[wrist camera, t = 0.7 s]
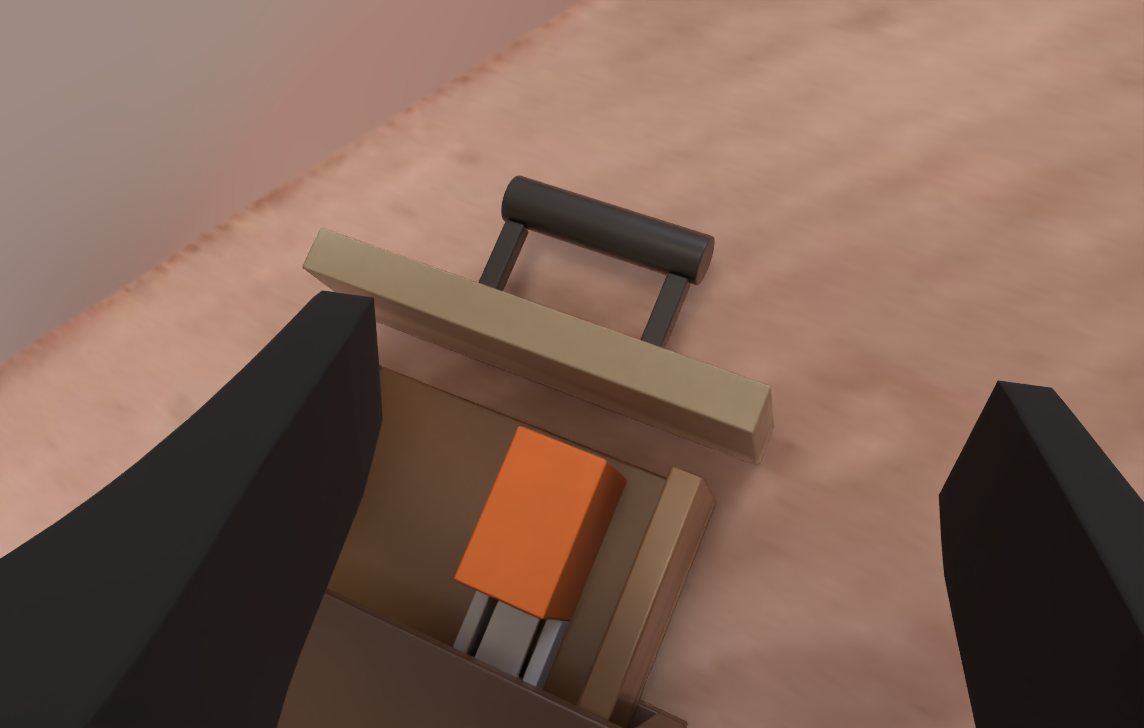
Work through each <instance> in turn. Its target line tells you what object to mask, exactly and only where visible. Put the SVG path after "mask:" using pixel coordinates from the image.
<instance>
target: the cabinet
mask: <svg viewBox="0 0 1144 728" xmlns="http://www.w3.org/2000/svg"><path fill="white" fill-rule="evenodd" d="M686 727H687V722H686V721H684V720H682V719H680V718H678V717H676V716H673V715H671V714H669V713H667V712H665V711H663V710H660V709H658V708H656V707H654V706H652V705H650V704H647V703H645V702H643V701H641V700H639V701H638V704H637V706H636V709H635V711H634V714H633V717H632V719H631V722H630V724H629V727H628V728H686ZM277 728H623V727H621V726H618V725H616V724H614V723H612V722H610V721H608V720H606V719H604V718H601V717H599V716H597V715H595V714H593V713H591V712H589V711H587V710H584V709H582V708H580V707H578V706H576V705H574V704H572V703H570V702H568V701H565V700H563V699H561V698H559V697H557V696H555V695H553V694H551V693H548V692H546V691H544V690H542V689H540V688H538V687H536V686H534V685H531V684H529V683H527V682H525V681H523V680H521V679H519V678H517V677H515V676H512V675H510V674H508V673H506V672H504V671H502V670H500V669H498V668H495V667H493V666H491V665H489V664H487V663H485V662H483V661H481V660H478V659H476V658H474V657H472V656H470V655H468V654H466V653H464V652H462V651H459V650H457V649H455V648H453V647H451V646H449V645H447V644H445V643H442V642H440V641H438V640H436V639H434V638H432V637H430V636H428V635H425V634H423V633H421V632H419V631H417V630H415V629H413V628H411V627H409V626H406V625H404V624H402V623H400V622H398V621H396V620H394V619H392V618H389V617H387V616H385V615H383V614H381V613H379V612H377V611H375V610H373V609H370V608H368V607H366V606H364V605H362V604H360V603H358V602H356V601H353V600H351V599H349V598H347V597H345V596H343V595H341V594H339V593H336V592H334V591H332V590H330V589H328V588H327V589H326V591H325V594H324V596H323V599H322V601H321V604H320V606H319V609H318V611H317V614H316V616H315V619H314V621H313V624H312V626H311V629H310V631H309V634H308V636H307V639H306V641H305V644H304V646H303V649H302V651H301V654H300V656H299V659H298V662H297V665H296V668H295V671H294V674H293V676H292V679H291V682H290V685H289V688H288V691H287V694H286V698H285V701H284V705H283V708H282V712H281V715H280V719H279V722H278V726H277Z"/></svg>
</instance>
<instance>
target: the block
mask: <svg viewBox="0 0 1144 728" xmlns="http://www.w3.org/2000/svg"><path fill="white" fill-rule="evenodd" d="M625 484H626V478H625V477H624V476H623V475H622V474H621V473H620V472H619V471H617V470H616V469H615V468H614V467H613V466H612V465H611V464H610V463H609V462H608V461H607V460H606V459H603V458H601V457H598V456H596V455H593V454H591V453H588V452H586V451H583V450H581V449H578V448H575V447H573V446H570V445H568V444H565V443H563V442H560V441H558V440H555V439H553V438H550V437H547V436H545V435H542V434H540V433H537V432H535V431H532V430H530V429H527V428H525V427H522V426H519V427H518V428H517V430H516V433H515V435H514V438H513V440H512V442H511V445H510V447H509V449H508V452H507V454H506V456H505V459H504V461H503V463H502V466H501V468H500V470H499V473H498V475H497V477H496V480H495V482H494V485H493V487H492V489H491V492H490V494H489V496H488V499H487V501H486V503H485V506H484V508H483V510H482V513H481V515H480V517H479V520H478V522H477V524H476V527H475V529H474V532H473V534H472V536H471V539H470V541H469V543H468V546H467V548H466V550H465V553H464V555H463V557H462V560H461V562H460V564H459V567H458V569H457V571H456V574H455V576H454V580H455V581H457V582H459V583H461V584H463V585H466V586H468V587H470V588H472V589H474V590H476V593H475V595H474V598H473V600H472V602H471V605H470V607H469V609H468V612H467V614H466V617H465V619H464V621H463V624H462V626H461V628H460V631H459V633H458V636H457V638H456V640H455V643H454V645H453V648H455V649H457V650H459V651H462V652H464V653H466V654H468V655H470V656H472V657H474V658H476V659H478V660H481V661H483V662H485V663H487V664H489V665H491V666H493V667H495V668H498V669H500V670H502V671H504V672H506V673H508V674H510V675H512V676H515V677H517V678H519V679H521V680H523V681H525V682H527V683H529V684H531V685H534V686H536V687H538V688H540V689H542V690H543V687H544V685H545V682H546V680H547V677H548V675H549V672H550V670H551V667H552V665H553V663H554V660H555V658H556V655H557V653H558V650H559V648H560V645H561V643H562V640H563V638H564V635H565V633H566V630H567V628H568V625H569V621H568V620H570V619H571V617H572V615H573V612H574V610H575V607H576V605H577V603H578V600H579V598H580V595H581V593H582V590H583V588H584V585H585V583H586V580H587V578H588V575H589V573H590V570H591V568H592V565H593V563H594V560H595V558H596V555H597V553H598V550H599V548H600V546H601V543H602V541H603V538H604V536H605V533H606V531H607V528H608V526H609V523H610V521H611V518H612V516H613V513H614V511H615V508H616V506H617V503H618V501H619V498H620V496H621V494H622V491H623V489H624V486H625ZM498 600H499V601H498ZM541 619H547V620H546V622H545V625H544V627H543V630H542V632H541V635H540V637H539V639H538V642H537V644H536V647H535V649H534V652H533V654H532V657H531V659H530V662H529V664H528V666H527V669H526V671H525V674H524V676H523V678H522V677H519V673H520V671H521V668H522V666H523V663H524V661H525V659H526V656H527V654H528V651H529V649H530V646H531V644H532V641H533V639H534V636H535V634H536V632H537V629H538V627H539V624H540V622H541Z"/></svg>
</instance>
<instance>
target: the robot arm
mask: <svg viewBox="0 0 1144 728" xmlns="http://www.w3.org/2000/svg"><path fill="white" fill-rule="evenodd" d="M382 421H383V414H382V400H381V387H380V373H379V359H378V346H377V332H376V318H375V305H374V297H367V296H359V295H352V294H344V293H337V292H329V291H321V292H320V293H318V294H317V295H316V296H314V297H313V298H312V299H311V300H310V301H309V302H308V303H307V304H306V305H305V306H304V307H303V309H302V310H301V311H300V312H299V313H298V314H297V315H296V316H295V317H294V318H293V319H292V320H291V321H290V322H289V323H288V324H287V325H286V326H285V327H284V328H283V329H282V330H281V331H280V332H279V333H278V334H277V335H276V336H275V337H274V338H273V339H272V340H271V341H270V342H269V343H268V344H267V345H266V346H265V347H264V348H263V349H262V350H261V351H260V352H259V353H258V354H257V355H256V356H255V357H254V358H253V359H252V360H251V361H250V362H249V363H248V364H247V365H246V366H245V367H244V368H243V369H242V370H241V371H240V372H239V373H238V374H236V375H235V376H234V377H233V378H232V379H231V380H230V381H229V382H228V383H227V384H226V385H225V386H224V387H223V388H222V389H220V390H219V391H218V392H217V393H216V394H215V395H214V396H213V397H212V398H211V399H210V400H209V401H208V402H207V403H205V404H204V405H203V406H202V407H201V408H200V409H199V410H198V411H197V412H196V413H194V414H193V415H192V416H191V417H190V418H189V419H188V420H186V421H185V422H184V423H183V424H182V425H181V426H179V427H178V428H177V429H176V430H175V431H173V432H172V433H171V434H170V435H169V436H167V437H166V438H165V439H164V440H163V441H162V442H160V443H159V444H158V445H157V446H156V447H154V448H153V449H152V450H151V451H150V452H148V453H147V454H146V455H145V456H144V457H143V458H141V459H140V460H139V461H138V462H136V463H135V464H134V465H133V466H131V467H130V468H129V469H128V470H126V471H125V472H124V473H123V474H121V475H120V476H119V477H117V478H116V479H115V480H113V481H112V482H111V483H110V484H108V485H107V486H106V487H104V488H103V489H102V490H100V491H99V492H98V493H96V494H95V495H94V496H92V497H91V498H89V499H88V500H87V501H85V502H84V503H82V504H81V505H80V506H78V507H77V508H75V509H74V510H73V511H71V512H70V513H68V514H67V515H66V516H64V517H63V518H61V519H60V520H59V521H57V522H56V523H54V524H53V525H51V526H50V527H48V528H47V529H45V530H44V531H42V532H41V533H39V534H38V535H36V536H34V537H33V538H31V539H30V540H28V541H27V542H25V543H24V544H22V545H21V546H19V547H18V548H16V549H15V550H13V551H12V552H10V553H8V554H7V555H5V556H4V557H2V558H1V559H0V728H277V726H278V722H279V719H280V715H281V712H282V708H283V705H284V701H285V698H286V694H287V691H288V688H289V685H290V682H291V679H292V676H293V674H294V671H295V668H296V665H297V662H298V659H299V656H300V654H301V651H302V649H303V646H304V644H305V641H306V639H307V636H308V634H309V631H310V629H311V626H312V624H313V621H314V619H315V616H316V614H317V611H318V609H319V606H320V604H321V601H322V599H323V596H324V594H325V591H326V589H327V586H328V584H329V581H330V579H331V576H332V574H333V571H334V569H335V566H336V564H337V561H338V559H339V556H340V553H341V551H342V548H343V546H344V543H345V541H346V538H347V536H348V533H349V531H350V528H351V525H352V523H353V520H354V518H355V515H356V513H357V510H358V507H359V505H360V502H361V500H362V497H363V494H364V491H365V487H366V483H367V480H368V476H369V472H370V468H371V465H372V461H373V457H374V453H375V449H376V445H377V441H378V437H379V433H380V429H381V425H382ZM939 507H940V526H941V543H942V555H943V567H944V577H945V582H946V587H947V592H948V597H949V602H950V607H951V612H952V617H953V622H954V627H955V632H956V637H957V641H958V646H959V651H960V655H961V660H962V665H963V670H964V674H965V679H966V684H967V688H968V693H969V698H970V702H971V707H972V712H973V717H974V721H975V726H976V728H1144V502H1143V500H1142V499H1141V498H1140V497H1139V496H1138V494H1137V493H1136V492H1135V491H1134V489H1133V488H1132V487H1131V486H1130V484H1129V483H1128V482H1127V481H1126V479H1125V478H1124V477H1123V476H1122V474H1121V473H1120V472H1119V471H1118V469H1117V468H1116V467H1115V466H1114V464H1113V463H1112V462H1111V461H1110V459H1109V458H1108V457H1107V456H1106V454H1105V453H1104V452H1103V450H1102V449H1101V448H1100V447H1099V445H1098V444H1097V443H1096V442H1095V440H1094V439H1093V438H1092V437H1091V435H1090V434H1089V433H1088V431H1087V430H1086V429H1085V428H1084V426H1083V425H1082V424H1081V423H1080V421H1079V420H1078V419H1077V418H1076V416H1075V415H1074V414H1073V413H1072V411H1071V410H1070V409H1069V408H1068V406H1067V405H1066V404H1065V403H1064V402H1063V400H1062V399H1061V398H1060V397H1059V396H1058V394H1057V393H1056V392H1055V391H1054V390H1053V389H1052V388H1050V387H1042V386H1035V385H1027V384H1020V383H1012V382H1005V381H997V383H996V385H995V387H994V389H993V391H992V393H991V395H990V397H989V399H988V401H987V403H986V405H985V407H984V409H983V411H982V413H981V414H980V416H979V418H978V420H977V422H976V424H975V426H974V428H973V430H972V432H971V434H970V436H969V438H968V440H967V442H966V444H965V446H964V447H963V449H962V451H961V453H960V455H959V457H958V459H957V461H956V463H955V465H954V467H953V469H952V471H951V473H950V475H949V477H948V479H947V480H946V482H945V484H944V486H943V488H942V490H941V492H940V494H939Z"/></svg>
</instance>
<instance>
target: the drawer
mask: <svg viewBox="0 0 1144 728" xmlns="http://www.w3.org/2000/svg"><path fill="white" fill-rule="evenodd" d="M501 213H502V218H503V220H504V221H505V224H504V226H503V228H502V231H501V233H500V235H499V238H498V240H497V242H496V244H495V247H494V249H493V251H492V253H491V256H490V258H489V260H488V262H487V265H486V267H485V269H484V271H483V274H482V276H481V278H480V280H479V283H477V282H474V281H472V280H469V279H466V278H463V277H460V276H457V275H455V274H452V273H449V272H446V271H443V270H440V269H438V268H435V267H432V266H429V265H426V264H423V263H421V262H418V261H415V260H412V259H409V258H406V257H404V256H401V255H398V254H395V253H392V252H390V251H387V250H384V249H381V248H378V247H375V246H373V245H370V244H367V243H364V242H361V241H358V240H356V239H353V238H350V237H347V236H344V235H341V234H339V233H336V232H333V231H330V230H327V229H324V228H321V229H320V230H319V232H318V234H317V237H316V239H315V241H314V243H313V245H312V247H311V249H310V251H309V253H308V256H307V258H306V260H305V262H304V264H303V268H304V269H305V270H306V271H307V272H309V273H310V274H311V275H313V276H314V277H315V278H317V279H318V280H320V281H321V282H322V283H324V284H325V285H326V286H328V287H329V288H330V289H332V290H333V291H334V292H337V293H344V294H352V295H359V296H367V297H374V305H375V318H376V322H379V323H381V324H384V325H387V326H389V327H392V328H395V329H397V330H400V331H403V332H405V333H408V334H410V335H413V336H416V337H418V338H421V339H424V340H426V341H429V342H432V343H434V344H437V345H440V346H442V347H445V348H448V349H450V350H453V351H455V352H458V353H461V354H463V355H466V356H469V357H471V358H474V359H477V360H479V361H482V362H485V363H487V364H490V365H493V366H495V367H498V368H501V369H503V370H506V371H508V372H511V373H514V374H516V375H519V376H522V377H524V378H527V379H530V380H532V381H535V382H538V383H540V384H543V385H546V386H548V387H551V388H553V389H556V390H559V391H561V392H564V393H567V394H569V395H572V396H575V397H577V398H580V399H583V400H585V401H588V402H591V403H593V404H596V405H599V406H601V407H604V408H606V409H609V410H612V411H614V412H617V413H620V414H622V415H625V416H628V417H630V418H633V419H636V420H638V421H641V422H644V423H646V424H649V425H651V426H654V427H657V428H659V429H662V430H665V431H667V432H670V433H673V434H675V435H678V436H681V437H683V438H686V439H689V440H691V441H694V442H697V443H699V444H702V445H704V446H707V447H710V448H712V449H715V450H718V451H720V452H723V453H726V454H728V455H731V456H734V457H736V458H739V459H742V460H744V461H747V462H750V463H752V464H755V465H759V464H760V462H761V459H762V457H763V454H764V452H765V449H766V446H767V444H768V441H769V438H770V436H771V433H772V431H773V428H774V425H773V411H772V398H771V387H770V386H769V385H766V384H763V383H760V382H758V381H755V380H752V379H749V378H746V377H743V376H741V375H738V374H735V373H732V372H729V371H726V370H724V369H721V368H718V367H715V366H712V365H709V364H707V363H704V362H701V361H698V360H695V359H692V358H690V357H687V356H684V355H681V354H678V353H675V352H673V351H670V350H667V349H665V346H666V344H667V341H668V339H669V337H670V334H671V332H672V329H673V327H674V324H675V322H676V319H677V317H678V314H679V312H680V309H681V307H682V305H683V302H684V300H685V297H686V295H687V292H688V290H689V287H690V284H689V283H691V284H695V285H698V284H700V282H701V281H702V280H703V278H704V276H705V274H706V272H707V269H708V267H709V264H710V261H711V258H712V254H713V250H714V237H713V236H710V235H707V234H704V233H701V232H698V231H694V230H691V229H688V228H685V227H682V226H679V225H675V224H672V223H669V222H666V221H663V220H660V219H656V218H653V217H650V216H647V215H644V214H641V213H637V212H634V211H631V210H628V209H625V208H621V207H618V206H615V205H612V204H609V203H606V202H602V201H599V200H596V199H593V198H590V197H587V196H583V195H580V194H577V193H574V192H571V191H568V190H564V189H561V188H558V187H555V186H552V185H549V184H545V183H542V182H539V181H536V180H533V179H529V178H526V177H523V176H516V177H514V178H513V179H512V180H511V182H510V183H509V185H508V187H507V189H506V191H505V194H504V197H503V201H502V209H501ZM527 229H528V230H531V231H534V232H538V233H541V234H544V235H547V236H550V237H553V238H556V239H559V240H562V241H565V242H568V243H571V244H574V245H577V246H580V247H583V248H586V249H589V250H592V251H595V252H598V253H601V254H604V255H607V256H610V257H613V258H616V259H619V260H622V261H625V262H628V263H631V264H634V265H637V266H640V267H643V268H646V269H649V270H652V271H655V272H658V273H661V274H664V275H667V277H666V279H665V282H664V284H663V286H662V289H661V291H660V294H659V296H658V299H657V301H656V303H655V306H654V308H653V311H652V313H651V316H650V318H649V320H648V323H647V325H646V328H645V330H644V333H643V335H642V337H641V340H639V339H636V338H633V337H630V336H627V335H624V334H622V333H619V332H616V331H613V330H610V329H608V328H605V327H602V326H599V325H596V324H593V323H591V322H588V321H585V320H582V319H579V318H576V317H574V316H571V315H568V314H565V313H562V312H559V311H557V310H554V309H551V308H548V307H545V306H542V305H540V304H537V303H534V302H531V301H528V300H525V299H523V298H520V297H517V296H514V295H511V294H508V293H506V292H503V290H504V287H505V285H506V283H507V280H508V278H509V276H510V274H511V271H512V269H513V267H514V264H515V262H516V260H517V258H518V255H519V253H520V251H521V248H522V246H523V244H524V242H525V239H526V237H527V235H528V230H527ZM379 373H380V387H381V400H382V414H383V421H382V425H381V429H380V433H379V437H378V441H377V445H376V449H375V453H374V457H373V461H372V465H371V468H370V472H369V476H368V480H367V483H366V487H365V491H364V494H363V497H362V500H361V502H360V505H359V507H358V510H357V513H356V515H355V518H354V520H353V523H352V525H351V528H350V531H349V533H348V536H347V538H346V541H345V543H344V546H343V548H342V551H341V553H340V556H339V559H338V561H337V564H336V566H335V569H334V571H333V574H332V576H331V579H330V581H329V584H328V586H327V588H328V589H330V590H332V591H334V592H336V593H339V594H341V595H343V596H345V597H347V598H349V599H351V600H353V601H356V602H358V603H360V604H362V605H364V606H366V607H368V608H370V609H373V610H375V611H377V612H379V613H381V614H383V615H385V616H387V617H389V618H392V619H394V620H396V621H398V622H400V623H402V624H404V625H406V626H409V627H411V628H413V629H415V630H417V631H419V632H421V633H423V634H425V635H428V636H430V637H432V638H434V639H436V640H438V641H440V642H442V643H445V644H447V645H449V646H451V647H453V645H454V643H455V640H456V638H457V636H458V633H459V631H460V628H461V626H462V624H463V621H464V619H465V617H466V614H467V612H468V609H469V607H470V605H471V602H472V600H473V598H474V595H475V593H476V590H474V589H472V588H470V587H468V586H466V585H463V584H461V583H459V582H457V581H455V580H454V576H455V574H456V571H457V569H458V567H459V564H460V562H461V560H462V557H463V555H464V553H465V550H466V548H467V546H468V543H469V541H470V539H471V536H472V534H473V532H474V529H475V527H476V524H477V522H478V520H479V517H480V515H481V513H482V510H483V508H484V506H485V503H486V501H487V499H488V496H489V494H490V492H491V489H492V487H493V485H494V482H495V480H496V477H497V475H498V473H499V470H500V468H501V466H502V463H503V461H504V459H505V456H506V454H507V452H508V449H509V447H510V445H511V442H512V440H513V438H514V435H515V433H516V430H517V428H518V427H519V426H522V427H525V428H527V429H530V430H532V431H535V432H537V433H540V434H542V435H545V436H547V437H550V438H553V439H555V440H558V441H560V442H563V443H565V444H568V445H570V446H573V447H575V448H578V449H581V450H583V451H586V452H588V453H591V454H593V455H596V456H598V457H601V458H603V459H606V460H607V461H608V462H609V463H610V464H611V465H612V466H613V467H614V468H615V469H616V470H617V471H619V472H620V473H621V474H622V475H623V476H624V477H625V478H626V484H625V486H624V489H623V491H622V494H621V496H620V498H619V501H618V503H617V506H616V508H615V511H614V513H613V516H612V518H611V521H610V523H609V526H608V528H607V531H606V533H605V536H604V538H603V541H602V543H601V546H600V548H599V550H598V553H597V555H596V558H595V560H594V563H593V565H592V568H591V570H590V573H589V575H588V578H587V580H586V583H585V585H584V588H583V590H582V593H581V595H580V598H579V600H578V603H577V605H576V607H575V610H574V612H573V615H572V617H571V619H570V620H568V621H569V625H568V628H567V630H566V633H565V635H564V638H563V640H562V643H561V645H560V648H559V650H558V653H557V655H556V658H555V660H554V663H553V665H552V667H551V670H550V672H549V675H548V677H547V680H546V682H545V685H544V687H543V690H544V691H546V692H548V693H551V694H553V695H555V696H557V697H559V698H561V699H563V700H565V701H568V702H570V703H572V704H574V705H576V706H578V707H580V708H582V709H584V710H587V711H589V712H591V713H593V714H595V715H597V716H599V717H601V718H604V719H606V720H608V721H610V722H612V723H614V724H616V725H618V726H621V727H623V728H628V727H629V724H630V722H631V719H632V717H633V714H634V711H635V709H636V706H637V704H638V701H639V698H640V696H641V693H642V691H643V688H644V686H645V683H646V680H647V678H648V675H649V673H650V670H651V668H652V665H653V662H654V660H655V657H656V655H657V652H658V649H659V647H660V644H661V642H662V639H663V637H664V634H665V631H666V629H667V626H668V624H669V621H670V618H671V616H672V613H673V611H674V608H675V606H676V603H677V600H678V598H679V595H680V593H681V590H682V588H683V585H684V582H685V580H686V577H687V575H688V572H689V569H690V567H691V564H692V562H693V559H694V557H695V554H696V551H697V549H698V546H699V544H700V541H701V539H702V536H703V533H704V531H705V528H706V526H707V523H708V520H709V518H710V515H711V513H712V510H713V508H714V505H715V499H714V497H713V495H712V494H711V492H710V490H709V488H708V487H707V485H706V483H705V481H704V480H703V478H702V477H700V476H698V475H695V474H692V473H690V472H687V471H685V470H682V469H680V468H677V467H672V468H671V469H670V471H669V474H668V477H667V478H665V477H663V476H660V475H658V474H655V473H652V472H650V471H647V470H645V469H642V468H640V467H637V466H635V465H632V464H629V463H627V462H624V461H622V460H619V459H617V458H614V457H612V456H609V455H606V454H604V453H601V452H599V451H596V450H594V449H591V448H589V447H586V446H583V445H581V444H578V443H576V442H573V441H571V440H568V439H566V438H563V437H560V436H558V435H555V434H553V433H550V432H548V431H545V430H543V429H540V428H537V427H535V426H532V425H530V424H527V423H525V422H522V421H520V420H517V419H514V418H512V417H509V416H507V415H504V414H502V413H499V412H497V411H494V410H492V409H489V408H486V407H484V406H481V405H479V404H476V403H474V402H471V401H469V400H466V399H463V398H461V397H458V396H456V395H453V394H451V393H448V392H446V391H443V390H440V389H438V388H435V387H433V386H430V385H428V384H425V383H423V382H420V381H417V380H415V379H412V378H410V377H407V376H405V375H402V374H400V373H397V372H394V371H392V370H389V369H387V368H384V367H382V366H379ZM498 601H499V600H498ZM546 620H547V619H541V622H540V624H539V627H538V629H537V632H536V634H535V636H534V639H533V641H532V644H531V646H530V649H529V651H528V654H527V656H526V659H525V661H524V663H523V666H522V668H521V671H520V673H519V677H522V678H523V676H524V674H525V671H526V669H527V666H528V664H529V662H530V659H531V657H532V654H533V652H534V649H535V647H536V644H537V642H538V639H539V637H540V635H541V632H542V630H543V627H544V625H545V622H546Z"/></svg>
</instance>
